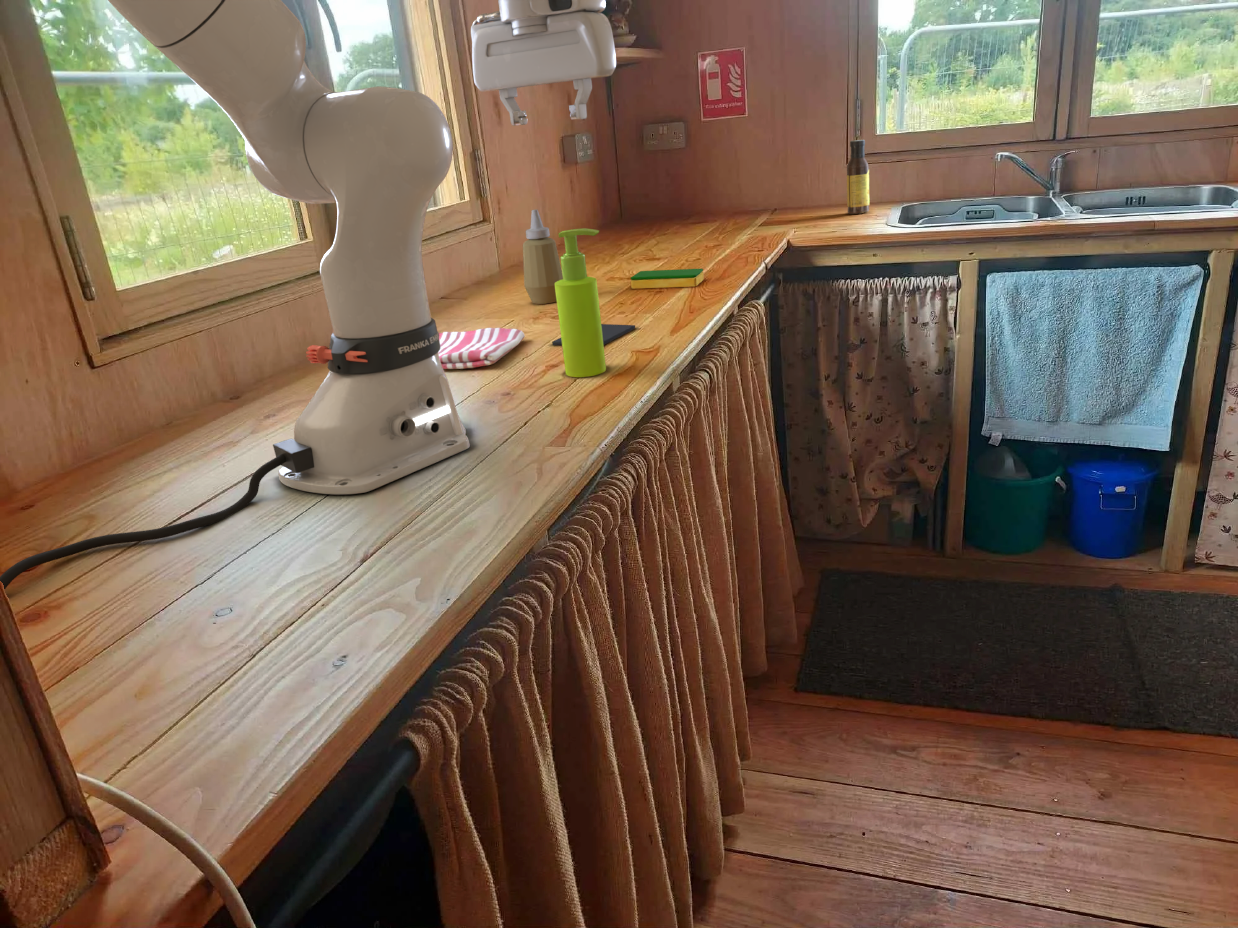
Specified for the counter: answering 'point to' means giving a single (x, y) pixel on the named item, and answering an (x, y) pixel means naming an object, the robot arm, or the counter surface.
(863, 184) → the sauce bottle
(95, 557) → the counter surface
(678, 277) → the dish sponge
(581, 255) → the soap dispenser
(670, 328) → the counter surface
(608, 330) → the mat
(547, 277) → the squeeze bottle
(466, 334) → the dish towel
